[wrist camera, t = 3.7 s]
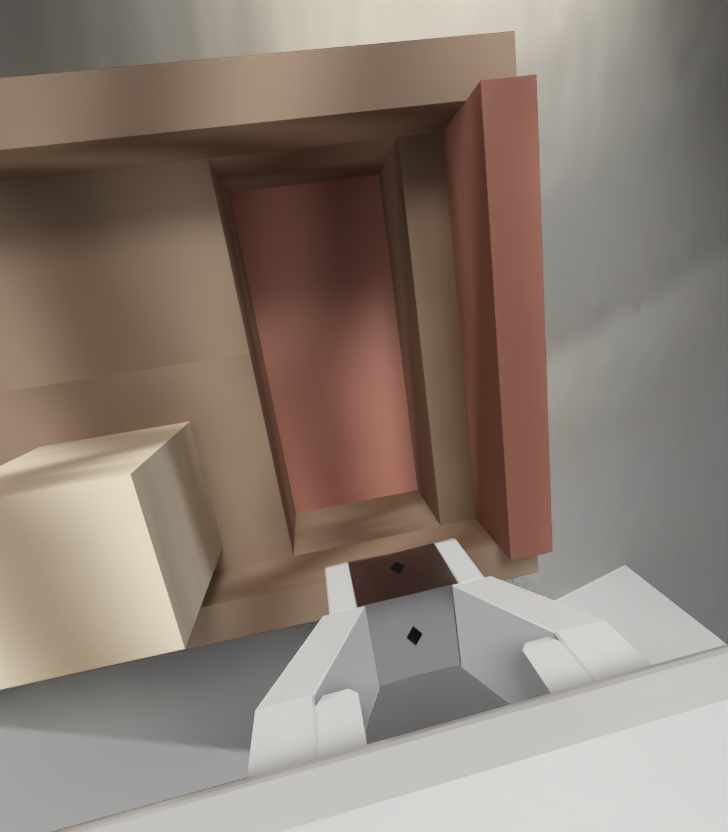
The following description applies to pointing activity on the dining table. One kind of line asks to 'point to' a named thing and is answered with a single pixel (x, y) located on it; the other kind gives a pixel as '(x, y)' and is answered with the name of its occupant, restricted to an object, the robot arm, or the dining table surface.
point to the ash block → (102, 552)
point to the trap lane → (291, 300)
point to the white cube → (642, 616)
